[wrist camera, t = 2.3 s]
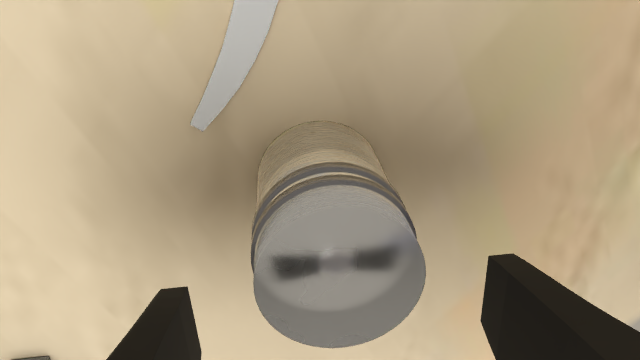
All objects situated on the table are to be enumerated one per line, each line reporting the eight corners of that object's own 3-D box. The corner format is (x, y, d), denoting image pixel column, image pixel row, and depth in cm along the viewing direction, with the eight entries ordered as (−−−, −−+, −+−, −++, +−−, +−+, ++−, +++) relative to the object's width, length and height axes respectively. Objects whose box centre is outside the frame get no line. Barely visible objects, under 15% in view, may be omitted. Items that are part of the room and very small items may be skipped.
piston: (382, 112, 17) (433, 195, 12) (381, 226, 19) (425, 341, 14) (248, 123, 17) (238, 213, 12) (261, 238, 19) (259, 359, 14)
